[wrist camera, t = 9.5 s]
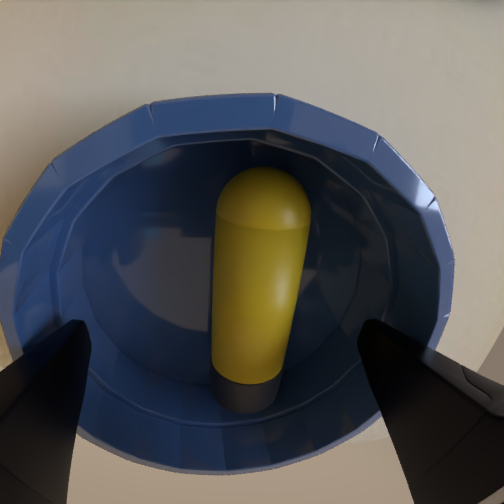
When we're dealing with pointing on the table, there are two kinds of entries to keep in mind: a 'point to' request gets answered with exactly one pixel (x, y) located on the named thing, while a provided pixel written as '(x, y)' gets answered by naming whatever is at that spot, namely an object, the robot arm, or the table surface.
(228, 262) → the marker
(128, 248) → the bowl
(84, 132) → the table surface
